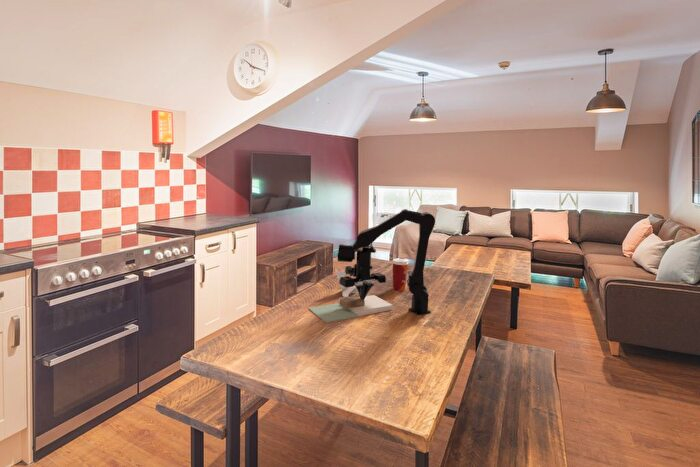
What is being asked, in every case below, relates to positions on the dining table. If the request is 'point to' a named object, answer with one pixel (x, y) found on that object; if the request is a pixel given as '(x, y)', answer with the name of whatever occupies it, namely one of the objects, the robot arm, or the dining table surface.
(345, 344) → the dining table surface
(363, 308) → the deck
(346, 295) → the plastic part
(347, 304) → the walnut tile
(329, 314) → the mat
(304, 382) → the dining table surface
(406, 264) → the paper cup
